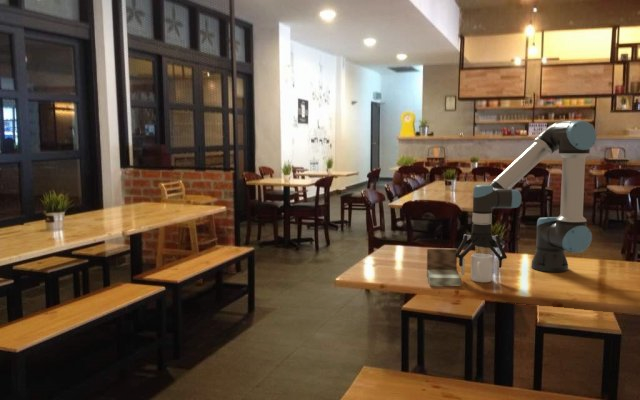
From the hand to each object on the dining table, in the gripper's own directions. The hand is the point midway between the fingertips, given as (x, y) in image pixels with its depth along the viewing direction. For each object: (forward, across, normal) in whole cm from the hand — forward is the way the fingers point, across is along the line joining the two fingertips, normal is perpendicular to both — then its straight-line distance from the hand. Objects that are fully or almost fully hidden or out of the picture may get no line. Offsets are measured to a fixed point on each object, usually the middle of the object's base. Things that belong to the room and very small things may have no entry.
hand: (479, 274), depth 231 cm
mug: (+3, 0, 0) cm, 3 cm away
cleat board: (+3, +15, +1) cm, 15 cm away
